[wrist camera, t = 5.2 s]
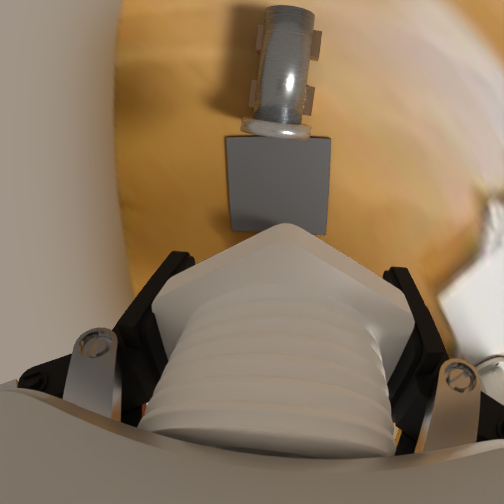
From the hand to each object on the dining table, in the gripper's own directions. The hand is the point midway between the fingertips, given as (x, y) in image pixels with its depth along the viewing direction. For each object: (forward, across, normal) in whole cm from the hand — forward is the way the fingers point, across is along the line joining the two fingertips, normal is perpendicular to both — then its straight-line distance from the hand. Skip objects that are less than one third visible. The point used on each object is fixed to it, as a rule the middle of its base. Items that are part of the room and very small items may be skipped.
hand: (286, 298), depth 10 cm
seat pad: (+18, +2, +1) cm, 18 cm away
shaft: (+18, +1, -9) cm, 20 cm away
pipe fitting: (+2, 0, 0) cm, 2 cm away
